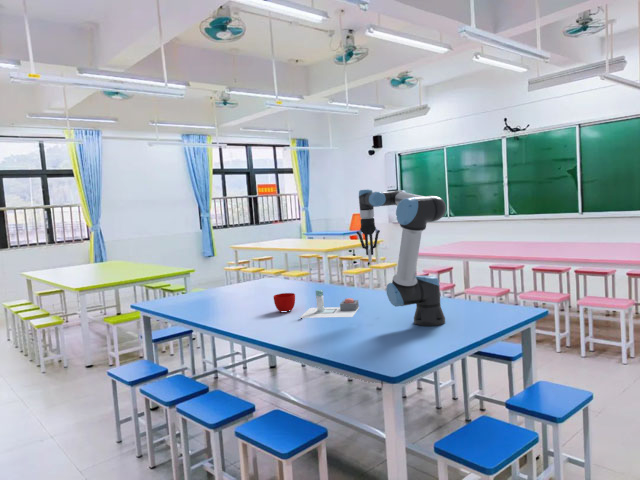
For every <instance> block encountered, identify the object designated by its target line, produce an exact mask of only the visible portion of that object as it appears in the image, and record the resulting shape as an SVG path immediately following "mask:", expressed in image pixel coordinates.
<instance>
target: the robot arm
mask: <svg viewBox="0 0 640 480" xmlns="http://www.w3.org/2000/svg"><path fill="white" fill-rule="evenodd" d="M358 204H359V215H360V228H359V230H357V231H356V234H357V236H358V239H359V241H360V242H359V243H360V245H361V248H362V249H364V250H365V254H366V256H368V257H367V258H368V262H372V261H373V257H372V256H374V249H375V248H377V245H378V238H379V234H380V233H381V230H380V229H378V228H377V227H376V225H375V218H374V217H375V211H374V208H377V207H378V208H379V207H387V206H396V208H395V209H396V211H395V215H396V220H397V222H398V224H399V226H400V228H401V229H402V232H401V238H400V239H401V241H400V247H399V252H398V253H399V254H398V261H397V270H396V274H395V275H393V276H392V281H391V282H389V283H388V284H386V288H385V289H386V290H385V291H386V295H387V298H388V301H389V302H390V304H391V305H392V306H393V307H398V308H399V307H405V306H410V305H415V304H416V308H415V312H414V315H413V324H415V325H417V326H421V327H435V326H436V327H437V326H441V325H444V324H445V323H446V317H445V314H444V311H443V308H442V306H441V291H440V290H441V289H440V287H441V285H440V280H439V278H438V277H437V276H433V275H416V272H417V271H416V270H417V265H418V258H419V253H420V246H421V239H422V233H423V231H425V230H426V229H427V223H432V222H438V221H439V220H441V219H442V218H443V217H444V215H445V214H446V212H447V205H446V202H445V201H444V199H443V198H441V197H439V196H436V195H427V196H424V195H421V194H420V195H419V194H414V193H409V192H406V190H403V189H402V190H401V189H398V190H389V191H388V190H387V191H374V192H373V190H372V189H371V188H367V189H360V190H359V191H358ZM374 233H375V237H374V239H373V235H374ZM362 234H363V235H364V239H363V235H362ZM368 237H369V238H368ZM373 241H374V242H373ZM369 246H370V247H369Z"/></svg>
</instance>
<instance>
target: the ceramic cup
mask: <svg viewBox="0 0 640 480" xmlns="http://www.w3.org/2000/svg"><path fill="white" fill-rule="evenodd" d="M273 303H274V306H275V307H276V310H277V311H278V312H280V311H289V310H291V311H292V310H293V308H294V307H295V304H296V294H295V293H293V292H283V293H277V294H275V295H273Z"/></svg>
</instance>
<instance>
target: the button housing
mask: <svg viewBox="0 0 640 480" xmlns="http://www.w3.org/2000/svg"><path fill="white" fill-rule="evenodd" d="M353 301H354V303H345V300H342V301H341V302H340V304H339V307H340V310H341V311H356V310H357V309H358V307H359V308H360V305H359V299H357V300H356V299H353ZM358 310H359V309H358ZM358 310H357V311H358ZM357 311H356V312H357Z"/></svg>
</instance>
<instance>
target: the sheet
mask: <svg viewBox="0 0 640 480" xmlns="http://www.w3.org/2000/svg"><path fill="white" fill-rule="evenodd" d="M359 309H360V306H359V307H358V309H357V310H356V311H341V310H340V306H335V307H332V306H331V307H324V312H317V307H310V308H308V309H307V310H306V311H305V312H304V313H303V314H302V315H300V316H299V317H298V319H299V318H304V319H310V318H311V319H312V318H313V319H315V318H319V319H321V318H323V319H324V318H354V316H355V314H356V313H357V311H358V310H359Z"/></svg>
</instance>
